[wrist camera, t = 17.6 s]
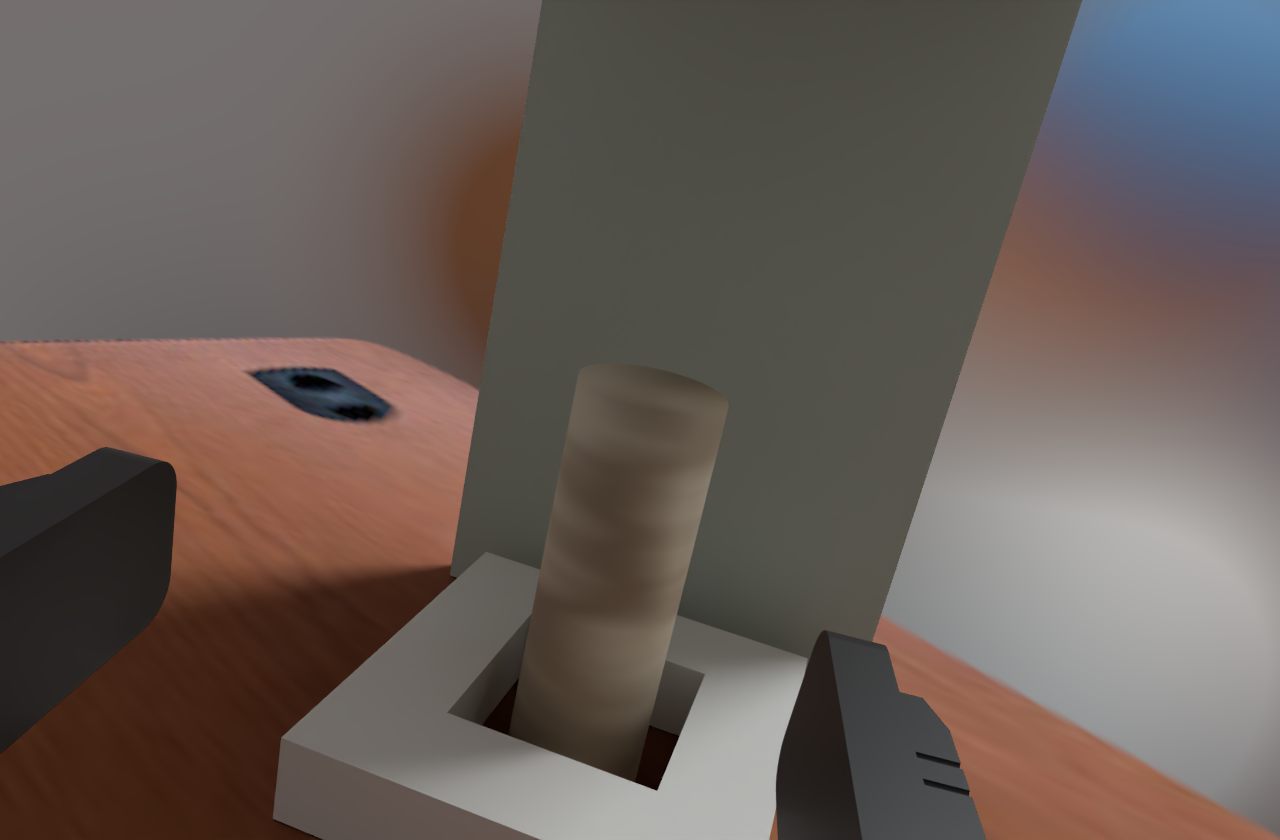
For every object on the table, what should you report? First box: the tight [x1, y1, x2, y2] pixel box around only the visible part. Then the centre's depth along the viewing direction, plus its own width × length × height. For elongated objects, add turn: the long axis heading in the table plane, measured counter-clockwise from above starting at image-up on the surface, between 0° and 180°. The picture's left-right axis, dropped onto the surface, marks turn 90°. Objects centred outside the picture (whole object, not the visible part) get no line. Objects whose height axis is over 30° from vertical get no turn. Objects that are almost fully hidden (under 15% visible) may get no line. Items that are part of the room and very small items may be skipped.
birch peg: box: [508, 363, 729, 783], centre depth 26 cm, size 4×4×12 cm
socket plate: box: [273, 552, 808, 840], centre depth 28 cm, size 12×12×2 cm
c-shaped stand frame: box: [450, 0, 1082, 675], centre depth 25 cm, size 16×17×27 cm
